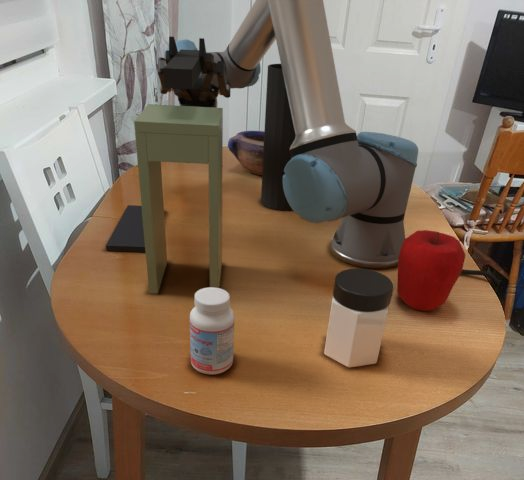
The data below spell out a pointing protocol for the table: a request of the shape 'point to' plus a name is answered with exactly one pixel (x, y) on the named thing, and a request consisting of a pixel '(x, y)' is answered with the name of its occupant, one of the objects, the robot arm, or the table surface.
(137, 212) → the base pad
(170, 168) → the table surface
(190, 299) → the table surface
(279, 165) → the vase
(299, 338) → the table surface
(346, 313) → the jar
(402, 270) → the apple
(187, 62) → the black rectangular bar
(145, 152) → the stand
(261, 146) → the bowl
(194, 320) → the pill bottle
